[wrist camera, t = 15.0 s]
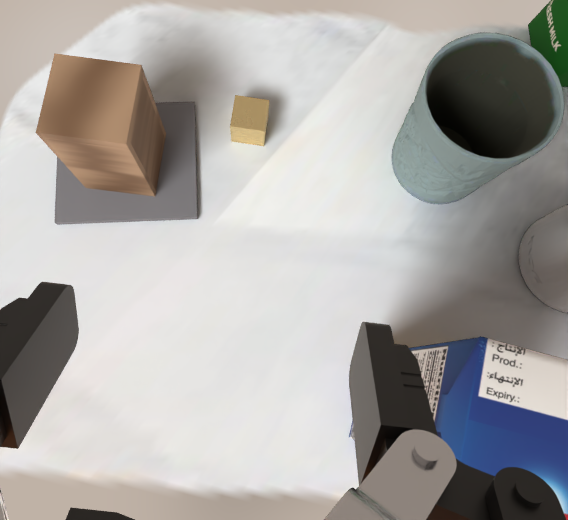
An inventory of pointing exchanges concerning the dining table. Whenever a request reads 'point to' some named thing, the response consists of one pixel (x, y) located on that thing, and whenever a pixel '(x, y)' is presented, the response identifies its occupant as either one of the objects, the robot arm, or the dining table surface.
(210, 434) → the dining table surface
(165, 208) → the charcoal mat
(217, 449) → the dining table surface
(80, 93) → the brown wooden block
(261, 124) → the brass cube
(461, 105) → the embossed blue-grey cup
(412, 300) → the dining table surface
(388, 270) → the dining table surface
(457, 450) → the beverage box
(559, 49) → the milk carton
